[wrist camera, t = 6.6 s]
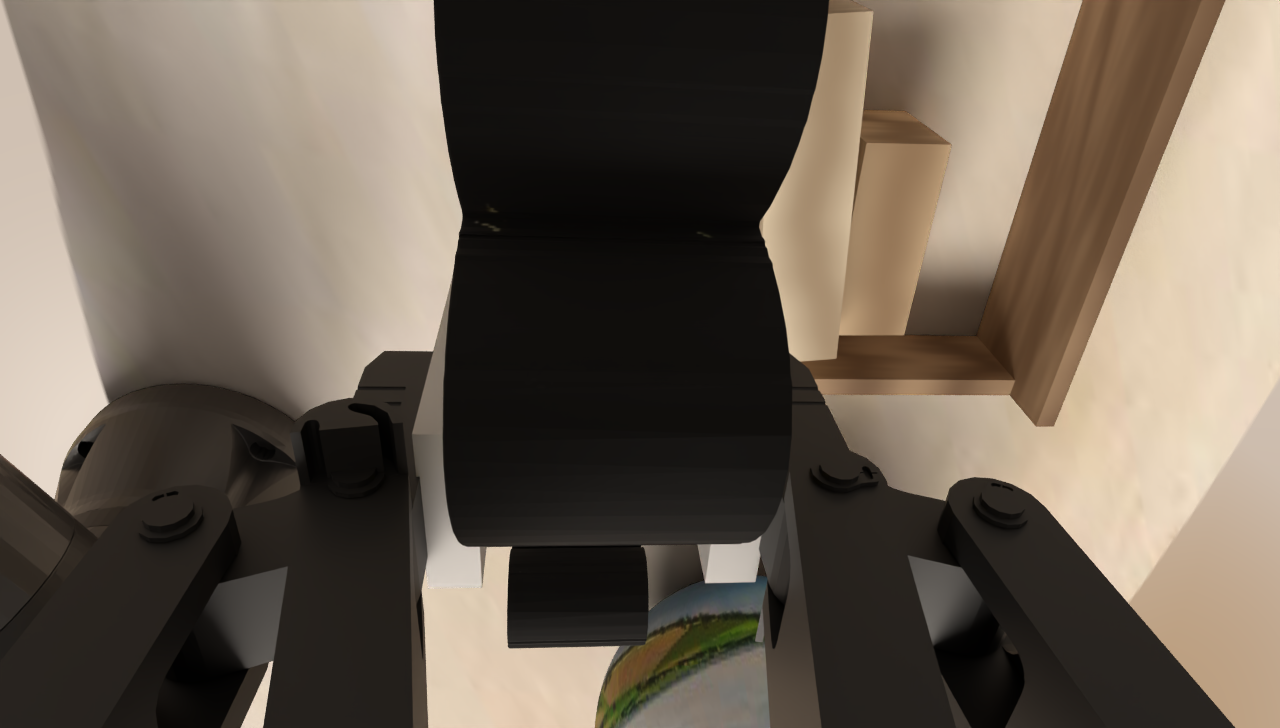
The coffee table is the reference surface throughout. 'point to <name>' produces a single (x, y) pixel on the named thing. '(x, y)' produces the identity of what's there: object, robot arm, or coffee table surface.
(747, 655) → the decorative sphere
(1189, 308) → the coffee table surface
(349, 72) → the coffee table surface
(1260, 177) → the coffee table surface
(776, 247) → the block
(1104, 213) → the tray
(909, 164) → the offcut short
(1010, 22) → the coffee table surface
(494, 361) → the sign
